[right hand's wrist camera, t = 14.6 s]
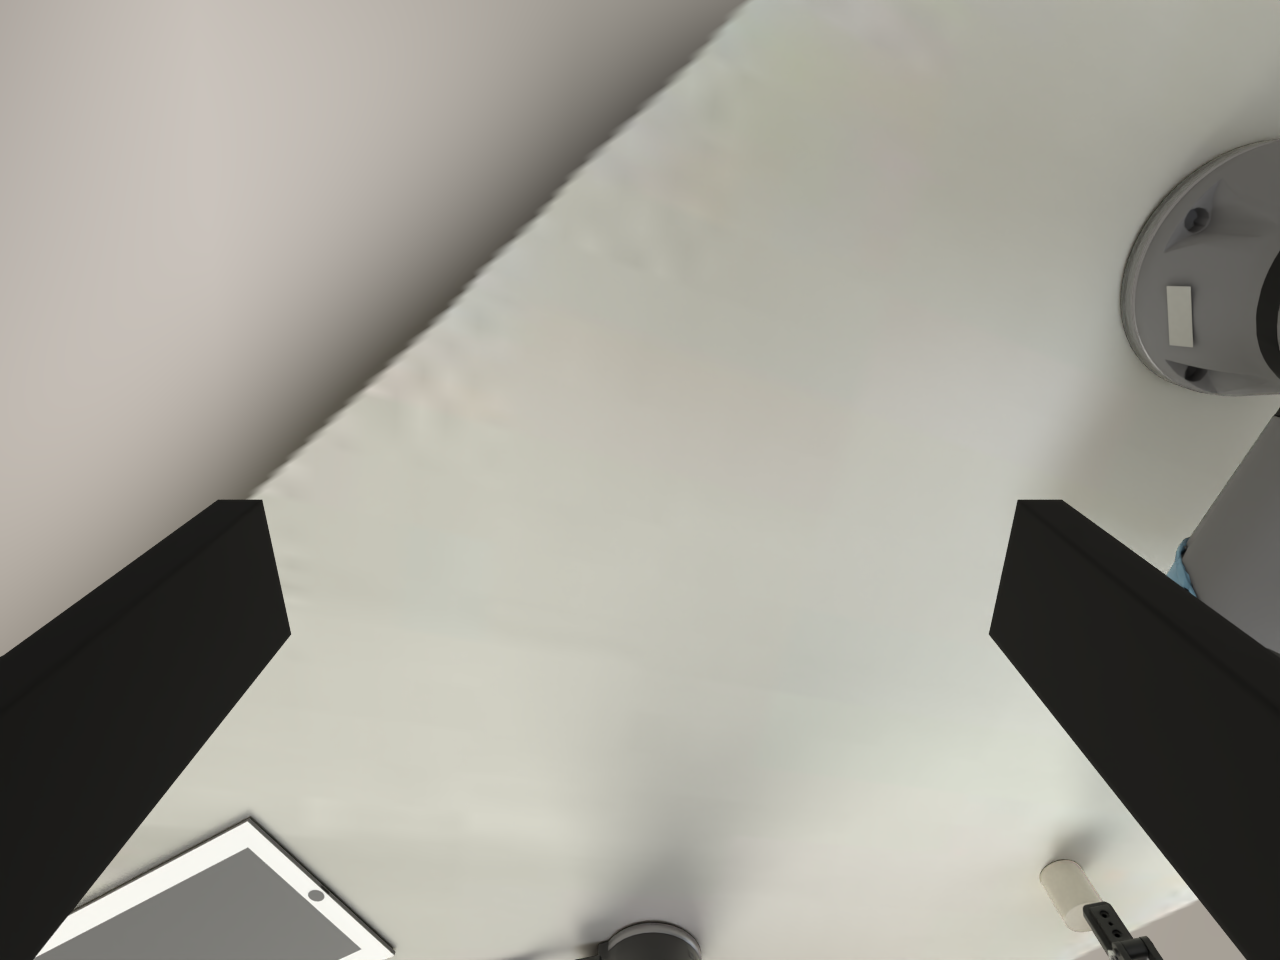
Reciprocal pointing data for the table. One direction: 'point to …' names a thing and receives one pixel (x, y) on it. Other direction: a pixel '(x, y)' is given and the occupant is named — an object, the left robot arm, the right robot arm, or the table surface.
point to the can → (1069, 892)
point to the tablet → (219, 911)
